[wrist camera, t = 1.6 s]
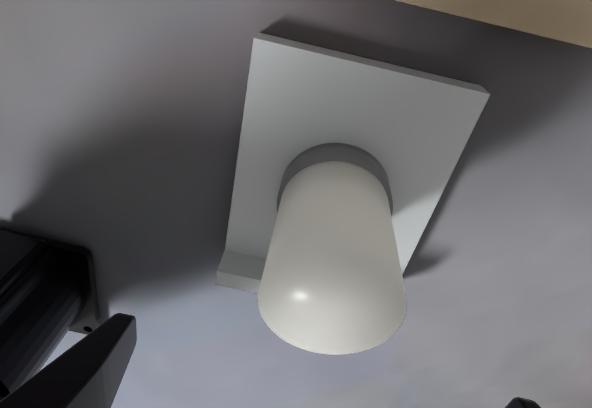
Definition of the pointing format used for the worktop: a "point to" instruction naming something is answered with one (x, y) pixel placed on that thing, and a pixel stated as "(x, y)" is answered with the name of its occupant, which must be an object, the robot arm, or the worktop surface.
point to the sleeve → (333, 254)
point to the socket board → (525, 16)
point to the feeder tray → (341, 139)
